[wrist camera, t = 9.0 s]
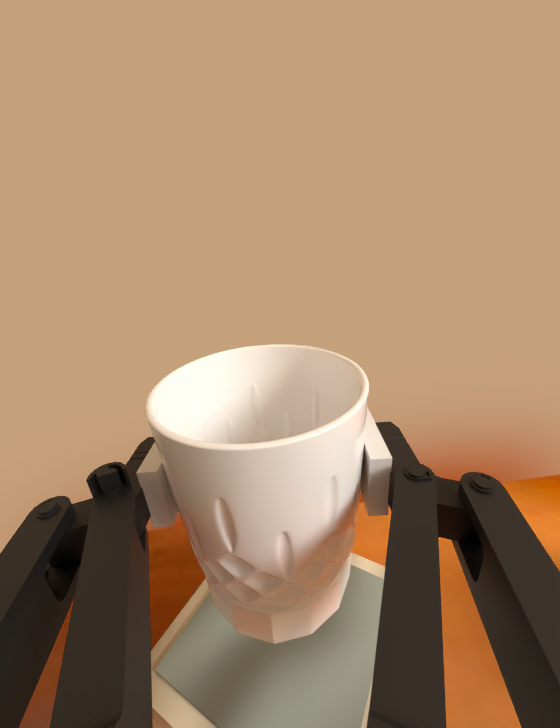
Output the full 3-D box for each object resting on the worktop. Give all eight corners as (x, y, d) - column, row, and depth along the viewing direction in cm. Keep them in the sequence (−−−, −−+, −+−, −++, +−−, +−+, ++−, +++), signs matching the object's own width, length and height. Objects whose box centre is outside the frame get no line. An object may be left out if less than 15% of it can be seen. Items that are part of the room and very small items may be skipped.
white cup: (251, 725, 10) (198, 497, 7) (174, 551, 16) (122, 379, 13) (398, 575, 14) (418, 380, 11) (293, 480, 21) (281, 333, 17)
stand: (153, 735, 19) (125, 680, 16) (262, 560, 28) (255, 508, 26) (352, 942, 13) (355, 904, 10) (405, 634, 22) (413, 576, 20)
